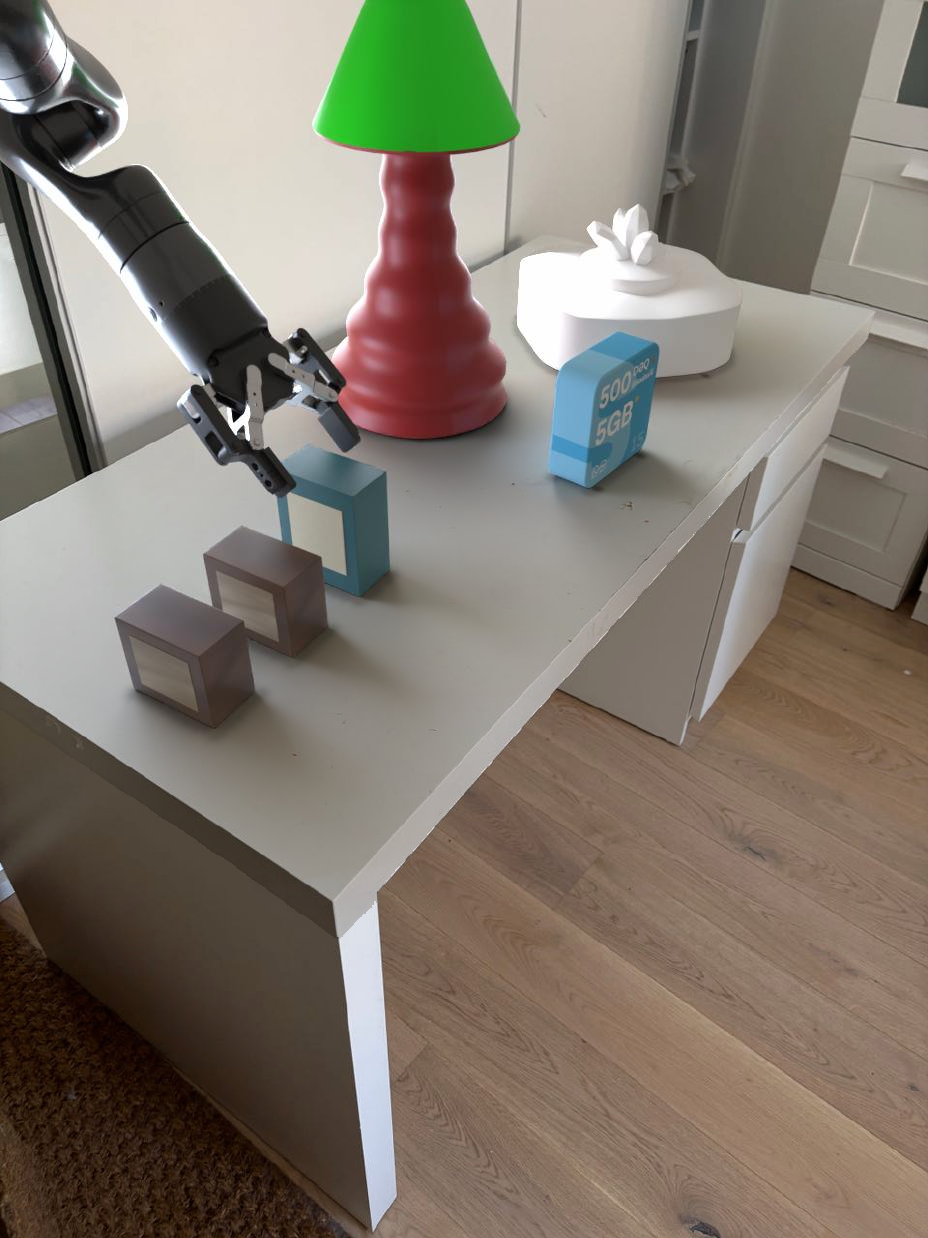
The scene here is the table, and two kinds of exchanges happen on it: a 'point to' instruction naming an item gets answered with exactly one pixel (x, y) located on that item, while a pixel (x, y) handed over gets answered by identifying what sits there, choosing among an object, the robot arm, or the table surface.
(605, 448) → the data package
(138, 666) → the walnut block
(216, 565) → the walnut block
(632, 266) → the crystal-topped trinket box
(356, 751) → the table surface
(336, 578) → the teal block
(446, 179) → the table lamp
